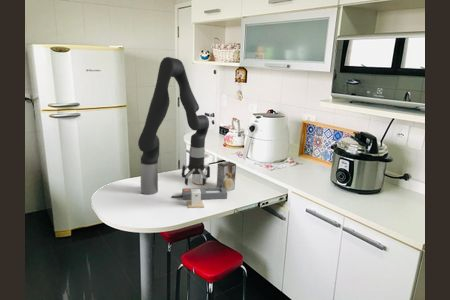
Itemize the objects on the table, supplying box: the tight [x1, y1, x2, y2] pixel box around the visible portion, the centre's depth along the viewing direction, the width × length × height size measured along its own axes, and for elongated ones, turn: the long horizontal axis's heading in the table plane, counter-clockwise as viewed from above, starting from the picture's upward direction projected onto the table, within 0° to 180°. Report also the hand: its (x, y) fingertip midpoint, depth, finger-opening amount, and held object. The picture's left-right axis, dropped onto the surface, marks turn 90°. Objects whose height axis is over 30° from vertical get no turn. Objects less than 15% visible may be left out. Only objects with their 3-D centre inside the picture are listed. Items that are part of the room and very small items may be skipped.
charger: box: [191, 189, 201, 205], centre depth 169 cm, size 5×5×7 cm
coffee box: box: [216, 161, 237, 193], centre depth 189 cm, size 9×6×16 cm
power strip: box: [171, 187, 228, 201], centre depth 179 cm, size 30×8×4 cm, turn 102°
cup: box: [191, 153, 211, 186], centre depth 198 cm, size 11×11×17 cm
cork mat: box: [186, 200, 205, 209], centre depth 170 cm, size 8×8×1 cm
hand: (195, 184), depth 166 cm, fingers open, 8 cm apart
